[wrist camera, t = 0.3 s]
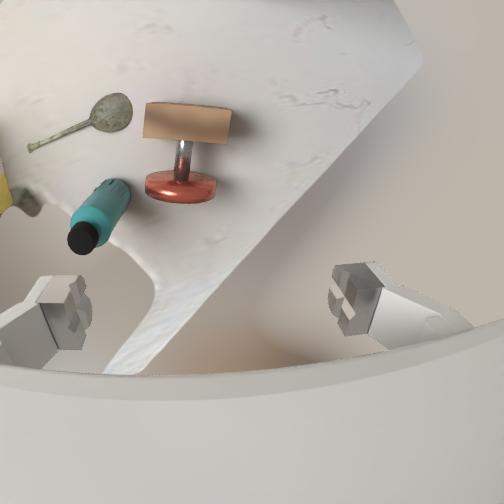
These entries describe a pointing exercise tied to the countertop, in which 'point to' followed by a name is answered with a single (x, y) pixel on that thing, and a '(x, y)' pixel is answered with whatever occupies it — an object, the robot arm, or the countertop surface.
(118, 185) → the beverage bottle
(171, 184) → the copper wheel on rod
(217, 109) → the eye block
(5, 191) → the pasta box
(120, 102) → the soupspoon
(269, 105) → the countertop surface
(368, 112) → the countertop surface
